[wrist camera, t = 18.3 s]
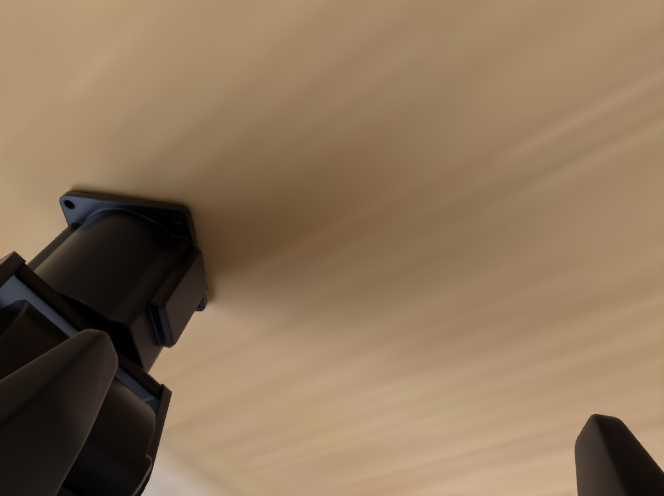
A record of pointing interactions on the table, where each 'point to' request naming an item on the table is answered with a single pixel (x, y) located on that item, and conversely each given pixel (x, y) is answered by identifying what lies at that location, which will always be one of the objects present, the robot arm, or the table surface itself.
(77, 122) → the table surface
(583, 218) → the table surface
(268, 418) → the table surface
